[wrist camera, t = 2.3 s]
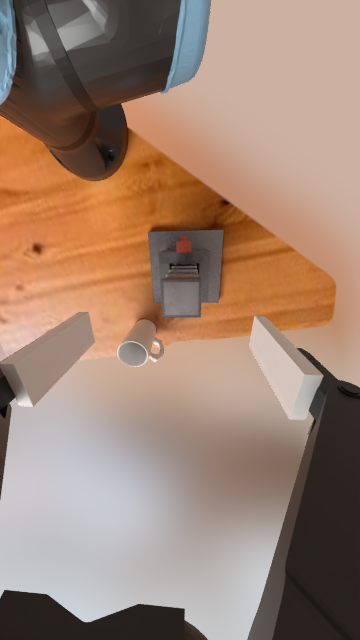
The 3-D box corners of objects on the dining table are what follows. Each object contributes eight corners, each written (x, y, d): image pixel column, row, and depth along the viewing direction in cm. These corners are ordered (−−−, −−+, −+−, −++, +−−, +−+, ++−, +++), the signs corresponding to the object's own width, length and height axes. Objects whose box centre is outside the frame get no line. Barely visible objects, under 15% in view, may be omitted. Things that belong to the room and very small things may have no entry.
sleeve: (149, 231, 40) (133, 229, 28) (222, 230, 39) (236, 226, 27) (155, 300, 46) (143, 321, 35) (217, 300, 45) (226, 321, 34)
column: (175, 259, 40) (160, 279, 20) (195, 259, 40) (201, 279, 20) (176, 279, 42) (162, 317, 22) (195, 279, 42) (200, 317, 22)
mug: (129, 333, 51) (113, 359, 40) (138, 314, 48) (122, 336, 37) (162, 347, 52) (154, 376, 41) (171, 329, 49) (166, 355, 38)
